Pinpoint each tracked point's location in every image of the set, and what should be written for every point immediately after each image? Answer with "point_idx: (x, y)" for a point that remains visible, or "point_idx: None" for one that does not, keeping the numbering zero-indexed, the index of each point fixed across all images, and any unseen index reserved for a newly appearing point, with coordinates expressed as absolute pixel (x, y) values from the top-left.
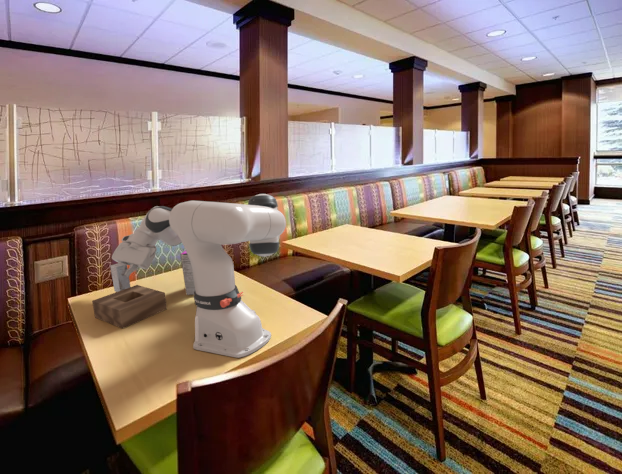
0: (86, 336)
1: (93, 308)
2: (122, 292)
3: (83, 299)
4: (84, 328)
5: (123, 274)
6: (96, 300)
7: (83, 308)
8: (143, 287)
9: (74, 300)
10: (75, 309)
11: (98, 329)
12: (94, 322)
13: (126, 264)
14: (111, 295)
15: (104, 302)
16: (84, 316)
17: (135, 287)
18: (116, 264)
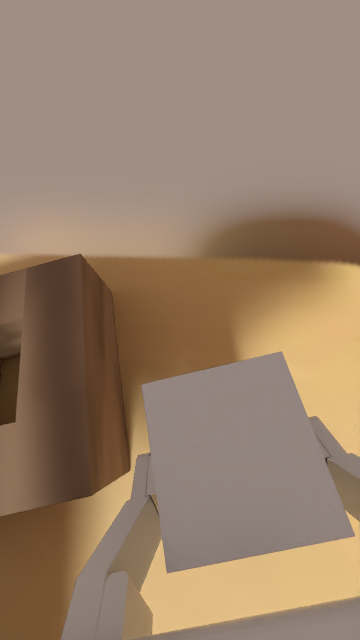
0: (18, 256)
1: (95, 273)
2: (50, 373)
3: (338, 293)
4: None
5: None
6: (66, 266)
7: (227, 278)
8: (7, 503)
9: (350, 267)
10: (238, 259)
11: None
12: None
13: (167, 561)
14: (63, 322)
15: (16, 283)
16: (150, 270)
17: (55, 462)
18: (274, 432)
